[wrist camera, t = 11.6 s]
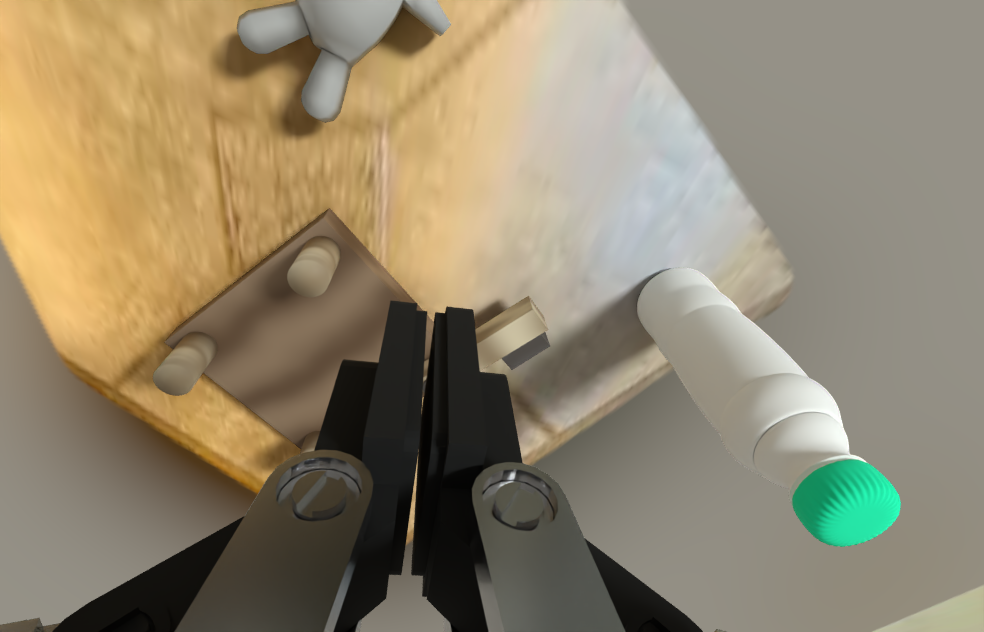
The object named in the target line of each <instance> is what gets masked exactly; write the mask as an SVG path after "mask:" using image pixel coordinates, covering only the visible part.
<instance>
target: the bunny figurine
mask: <svg viewBox="0 0 984 632" xmlns="http://www.w3.org/2000/svg"><path fill="white" fill-rule="evenodd" d="M402 7H403V8H404V9H406V10H407V11H408V12H409V13H411V14H412V15H413V16H414V17H416V18H417V19H418V20H420V21H421V22H422V23H423V24H425V25H426V26H427V27H429V28H430V29H431V30H433V31H434V32H435V33H436V34H438V35H439V36H441V35H442V34H443V33H444V32H445V31H446V30H447V29H448V28H449V26H450V25H451V23H450V22H449V20H448V18H447V17H446V15H445V13H444V12H443V10H442V8H441V7H440V5H439V3H438V2H437V0H296V1H295V2H290V3H285V4H280V5H274V6H269V7H264V8H258V9H253V10H248V11H246V12H245V13H244V14H242V15H241V16H239V19H238V24H237V31H238V34H239V36H240V38H241V41H242V43H243V45H245V46H246V47H247V48H248V49H249V50H251V51H253V52H255V53H257V54H268V53H270V52H272V51H274V50H277V49H279V48H281V47H283V46H285V45H287V44H290V43H292V42H294V41H296V40H298V39H300V38H302V37H305V36H307V35H309V36H310V38H311V40H312V42H313V44H314V45H315V46H316V47H318V48H319V49H321V50H322V51H321V53H320V55H319V57H318V59H317V61H316V63H315V65H314V67H313V69H312V71H311V73H310V75H309V78H308V80H307V82H306V84H305V86H304V88H303V90H302V98H301V101H302V104H303V106H304V108H305V110H306V111H307V112H308V114H310V115H311V116H313V117H314V118H316V119H318V120H320V121H323V122H325V123H326V122H330V121H334V120H335V119H336V118H337V116H338V115H339V113H340V112H341V108H342V104H343V100H344V96H345V92H346V88H347V84H348V80H349V76H350V72H351V68H352V67H353V66H354V65H355V64H356V63H357V62H358V61H359V60H360V59H362V58H363V57H364V56H365V55H366V54H367V53H368V52H369V51H371V50H372V49H373V48H374V47H375V46H376V45H377V44H378V43H379V42H380V41H381V40H382V38H383V37H384V36H385V35H386V33H387V32H388V31H389V29H390V28H391V26H392V25H393V23H394V22H395V20H396V18H397V17H398V15H399V13H400V11H401V9H402Z"/></svg>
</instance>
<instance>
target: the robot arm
mask: <svg viewBox="0 0 984 632" xmlns="http://www.w3.org/2000/svg"><path fill="white" fill-rule="evenodd" d="M426 325H427V311H419V310H417V303H410V302H401V301H392V300H391V301H390V306H389V311H388V316H387V321H386V326H385V331H384V336H383V341H382V346H381V351H380V357H379V362H367V361H357V360H346V359H343V360H342V363H341V365H340V368H339V372H338V375H337V378H336V381H335V385H334V388H333V391H332V394H331V398H330V401H329V404H328V407H327V411H326V414H325V417H324V420H323V424H322V427H321V430H320V433H319V436H318V440H317V443H316V446H315V449H314V451H309V452H305V453H302V454H299V455H297V456H294V457H292V458H290V459H288V460H287V461H285V462H284V463H282V464H281V465H279V466H278V467H277V468H276V469H275V470H274V471H273V473H272V474H271V475H270V476H269V477H268V479H267V480H266V482H265V484H264V485H263V487H262V489H261V490H260V492H259V494H258V495H257V497H256V499H255V500H254V502H253V503H252V505H251V507H250V508H249V510H248V512H247V514H246V515H245V516H244V517H242V518H240V519H238V520H237V521H235V522H233V523H231V524H230V525H228V526H226V527H224V528H222V529H220V530H219V531H217V532H215V533H213V534H211V535H210V536H208V537H206V538H205V539H202V540H201V541H199V542H197V543H195V544H194V545H192V546H190V547H188V548H186V549H185V550H183V551H181V552H179V553H177V554H176V555H174V556H172V557H170V558H168V559H167V560H165V561H163V562H161V563H159V564H158V565H156V566H154V567H152V568H150V569H149V570H147V571H145V572H143V573H142V574H140V575H138V576H136V577H134V578H132V579H131V580H129V581H127V582H125V583H124V584H122V585H120V586H118V587H116V588H115V589H113V590H111V591H109V592H107V593H106V594H104V595H102V596H100V597H98V598H97V599H95V600H93V601H91V602H89V603H88V604H86V605H85V606H84V607H82V608H80V609H79V610H78V611H76V612H74V613H73V614H72V615H70V616H69V617H67V618H66V619H64V621H62V622H61V623H58V624H53V625H48V626H42V623H41V621H40V618H35V619H30V620H24V621H18V622H13V623H7V624H2V625H0V632H360V627H361V620H362V618H364V617H365V616H366V615H367V614H368V613H369V612H371V611H372V610H373V609H374V608H375V607H376V606H378V605H379V604H380V603H381V602H382V601H383V600H385V599H386V595H387V587H388V578H389V575H401V573H402V566H403V559H404V551H405V544H406V537H407V530H408V523H409V515H410V508H411V501H412V494H413V486H414V479H415V472H416V465H417V457H418V469H417V486H416V502H415V519H414V536H413V554H412V570H411V571H412V572H411V574H412V575H420V576H423V593H422V596H424V597H427V600H428V601H429V602H430V603H431V604H432V605H433V606H434V607H435V608H436V609H437V610H438V611H439V612H440V613H441V614H442V615H443V616H444V632H703V631H702V630H701V629H700V628H699V627H698V626H697V625H696V624H695V623H694V622H693V621H692V620H691V619H690V618H688V617H687V616H686V615H685V614H684V613H682V612H681V611H680V610H678V609H677V608H676V607H674V606H673V605H672V604H670V603H669V602H668V601H666V600H665V599H664V598H663V597H661V596H660V595H659V594H657V593H656V592H655V591H653V590H652V589H651V588H649V587H648V586H647V585H645V584H644V583H643V582H641V581H640V580H639V579H638V578H636V577H635V576H634V575H632V574H631V573H630V572H628V571H627V570H626V569H624V568H623V567H622V566H620V565H619V564H618V563H616V562H615V561H614V560H613V559H611V558H610V557H609V556H607V555H606V554H605V553H603V552H602V551H600V550H599V549H598V548H597V547H595V546H594V545H593V544H591V543H590V542H589V541H587V540H586V539H585V538H584V537H583V534H582V532H581V530H580V527H579V525H578V523H577V520H576V518H575V516H574V514H573V511H572V510H571V507H570V505H569V502H568V500H567V498H566V495H565V494H564V492H563V491H562V489H561V488H560V486H559V484H558V483H557V482H556V481H555V480H554V479H552V478H551V477H550V476H549V475H548V474H546V473H544V472H543V471H541V470H539V469H538V468H536V467H533V466H530V465H526V464H523V463H522V458H521V452H520V447H519V441H518V436H517V430H516V425H515V419H514V414H513V408H512V403H511V397H510V392H509V386H508V381H507V377H506V375H504V374H495V373H485V372H480V369H479V359H478V350H477V340H476V331H475V322H474V312H473V310H472V309H463V308H454V307H446V311H445V313H437V312H436V313H435V318H434V326H433V333H432V340H431V348H430V355H429V363H428V370H427V377H426V385H425V392H424V399H423V407H422V393H423V376H424V359H425V342H426ZM421 411H422V414H421ZM418 449H419V452H418ZM715 632H726V631H722V630H718V629H716V630H715Z"/></svg>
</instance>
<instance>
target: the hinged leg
mask: <svg viewBox="0 0 984 632" xmlns="http://www.w3.org/2000/svg"><path fill="white" fill-rule="evenodd" d="M547 330H548V328H547V325H546V322H545V320H544V317H543V315H542V313H541V312H540V311H539V309H538V308H537V307H536V305H535V304H534V303H533V301H532V300H531V298H530V297H529V296H528V297H526V298H524V299H523V300H521V301H520V302H518V303H516V304H515V305H513V306H512V307H510V308H509V309H507V310H505V311H504V312H502V313H501V314H499V315H497V316H496V317H494V318H493V319H491V320H489V321H488V322H486V323H485V324H483V325H482V326H480V327H478V328H477V329H475V331H476V340H477V350H478V359H479V369H480V371H481V370H483V369H485V368H486V367H488V366H489V365H491V364H493V363H494V362H496V361H498V360H499V359H501V358H503V357H504V356H506V355H508V354H509V353H511V352H513V351H514V350H516V349H517V348H519V347H521V346H522V345H524V344H526V343H527V342H529V341H531V340H532V339H534V338H536V337H537V336H539V335H540V334H542V333H544V332H545V331H547ZM428 363H429V359H428V360H426V361H424V376H423V392H425V385H426V377H427V370H428Z"/></svg>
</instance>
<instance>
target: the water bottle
mask: <svg viewBox="0 0 984 632" xmlns="http://www.w3.org/2000/svg"><path fill="white" fill-rule="evenodd" d="M637 313H638V317H639V320H640V322H641V324H642V325H643V327H644V328H645V329H646V331H647V332H648V333H649V335H650V336H651V337H652V338H653V339H654V340H655V342H656V344H657V346H658V348H659V350H660V351H661V353H662V354H663V355H664V357H665V358H666V359H667V360H668V361H669V362H670V363H671V364H672V365H673V368H674V369H675V371H676V373H677V375H678V376H679V378H680V380H681V382H682V383H683V385H684V386H685V388H686V390H687V391H688V392H689V394H690V396H691V397H692V399H693V400H694V401H695V403H696V404H697V406H698V407H699V409H700V410H701V411H702V413H703V414H704V416H706V418H707V419H708V420H709V422H710V423H711V425H712V426H713V427H714V428H715V429H716V431H717V432H718V433H719V434H720V435H721V438H722V441H723V444H724V446H725V447H726V449H727V451H728V452H729V453H730V455H731V456H732V457H733V458H734V459H735V460H736V461H737V462H739V463H740V464H741V465H742V466H744V467H745V468H747V469H749V470H751V471H753V472H755V473H757V474H759V475H761V476H763V477H765V478H766V479H767V480H768V481H770V482H772V483H773V484H775V485H778V486H780V487H783V488H786V489H788V490H789V501H790V503H791V504H792V505H793V508H794V511H795V513H796V515H797V516H798V518H799V519H800V521H801V522H802V523H803V525H804V526H805V527H806V529H807V530H808V531H809V532H810V533H811V534H812V535H813V536H814V537H815V538H817V539H819V540H820V541H821V542H823V543H826V544H828V545H833V546H840V547H844V546H851V545H857V544H859V543H864V542H865V541H869V540H871V539H872V538H875V537H877V535H879V534H882V532H883V531H885V530H887V529H888V527H889V526H891V525H892V523H893V522H894V521H895V520H896V517H898V515H899V511H900V505H901V503H900V497H899V495H898V493H897V492H896V490H895V488H894V487H893V485H892V484H891V483H890V482H889V481H888V480H887V479H886V478H885V477H884V476H883V475H882V474H881V473H880V472H879V471H878V470H877V469H876V468H874V467H873V466H871V465H870V464H868V463H867V462H866V461H865V460H863V459H862V458H860V457H858V456H855V455H850V453H849V443H848V438H847V435H846V433H845V431H844V429H843V424H842V420H841V416H840V412H839V409H838V406H837V404H836V402H835V401H834V399H833V397H832V396H831V395H830V393H829V392H828V391H827V390H826V389H825V388H824V387H823V386H821V385H820V384H819V383H817V382H816V381H814V380H812V379H810V378H808V376H807V375H806V374H805V373H804V371H803V370H802V369H801V368H800V367H799V366H798V365H797V364H796V363H795V361H794V360H793V359H792V358H791V357H790V356H789V355H788V354H787V353H786V352H785V351H784V350H783V349H782V348H781V347H780V346H779V345H778V344H776V342H775V341H773V340H772V339H771V338H770V337H769V336H768V335H767V334H766V333H765V332H764V331H762V330H761V329H760V328H759V327H758V326H757V325H755V324H754V323H753V322H752V321H751V320H749V319H748V318H747V317H745V316H744V315H743V314H741V312H740V310H739V309H738V308H737V306H736V305H735V304H734V303H733V302H732V301H731V300H730V299H729V298H728V297H726V296H725V295H724V294H722V293H721V292H719V290H718V289H717V288H716V287H715V285H714V284H713V283H712V282H711V281H710V280H709V279H708V278H707V277H706V276H705V275H703V274H702V273H700V272H699V271H697V270H694V269H691V268H685V267H679V268H672V269H669V270H666V271H663V272H661V273H660V274H658V275H656V276H655V277H654V278H652V279H651V280H650V281H649V282H648V283H647V284H646V285H645V287H644V288H643V290H642V291H641V293H640V296H639V299H638V303H637Z"/></svg>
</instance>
